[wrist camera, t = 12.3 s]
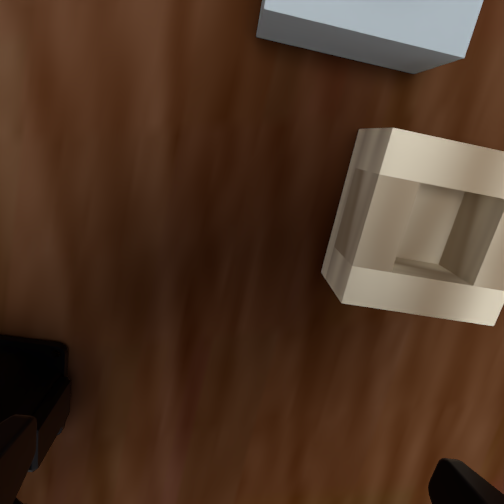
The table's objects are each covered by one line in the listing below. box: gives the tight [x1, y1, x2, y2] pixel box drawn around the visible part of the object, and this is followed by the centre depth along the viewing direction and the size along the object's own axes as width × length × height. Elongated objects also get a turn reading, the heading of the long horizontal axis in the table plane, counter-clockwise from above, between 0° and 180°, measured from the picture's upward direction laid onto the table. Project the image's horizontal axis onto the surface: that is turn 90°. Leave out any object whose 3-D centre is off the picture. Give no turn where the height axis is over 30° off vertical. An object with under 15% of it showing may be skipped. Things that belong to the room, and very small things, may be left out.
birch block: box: [321, 128, 504, 326], centre depth 18 cm, size 8×8×4 cm
